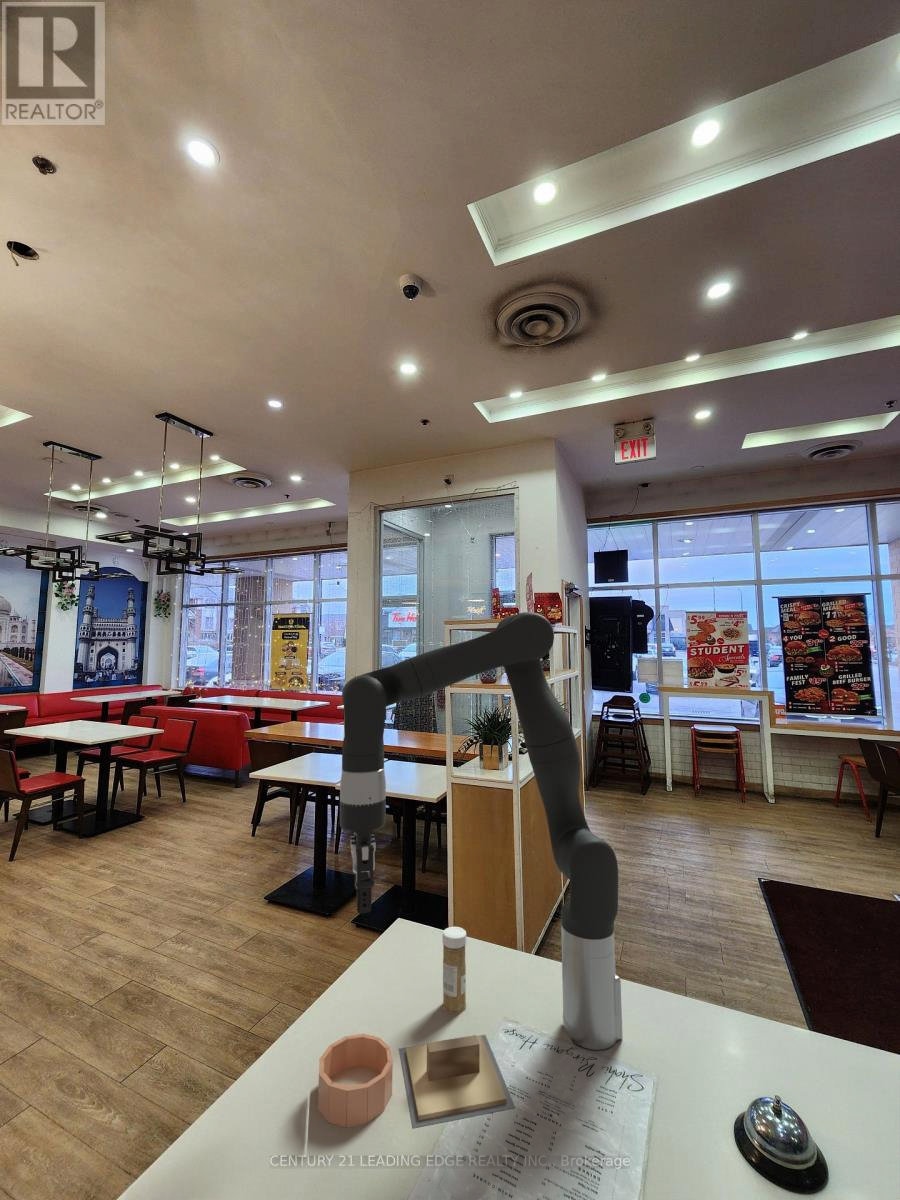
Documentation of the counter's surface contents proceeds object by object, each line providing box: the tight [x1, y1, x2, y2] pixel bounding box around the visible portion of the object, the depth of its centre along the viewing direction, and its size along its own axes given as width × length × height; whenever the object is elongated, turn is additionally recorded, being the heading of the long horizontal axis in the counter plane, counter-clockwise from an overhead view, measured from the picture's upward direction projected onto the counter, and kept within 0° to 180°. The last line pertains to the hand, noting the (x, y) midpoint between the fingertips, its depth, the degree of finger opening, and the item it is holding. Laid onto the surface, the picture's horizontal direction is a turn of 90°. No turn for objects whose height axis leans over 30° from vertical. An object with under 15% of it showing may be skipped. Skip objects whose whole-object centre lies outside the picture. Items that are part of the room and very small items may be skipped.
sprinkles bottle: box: [442, 926, 467, 1015], centre depth 96 cm, size 5×5×14 cm
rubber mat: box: [398, 1034, 516, 1129], centre depth 79 cm, size 15×15×1 cm
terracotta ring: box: [317, 1033, 394, 1128], centre depth 76 cm, size 11×11×5 cm
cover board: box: [405, 1034, 507, 1120], centre depth 79 cm, size 13×13×5 cm
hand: (362, 899), depth 83 cm, fingers open, 8 cm apart
